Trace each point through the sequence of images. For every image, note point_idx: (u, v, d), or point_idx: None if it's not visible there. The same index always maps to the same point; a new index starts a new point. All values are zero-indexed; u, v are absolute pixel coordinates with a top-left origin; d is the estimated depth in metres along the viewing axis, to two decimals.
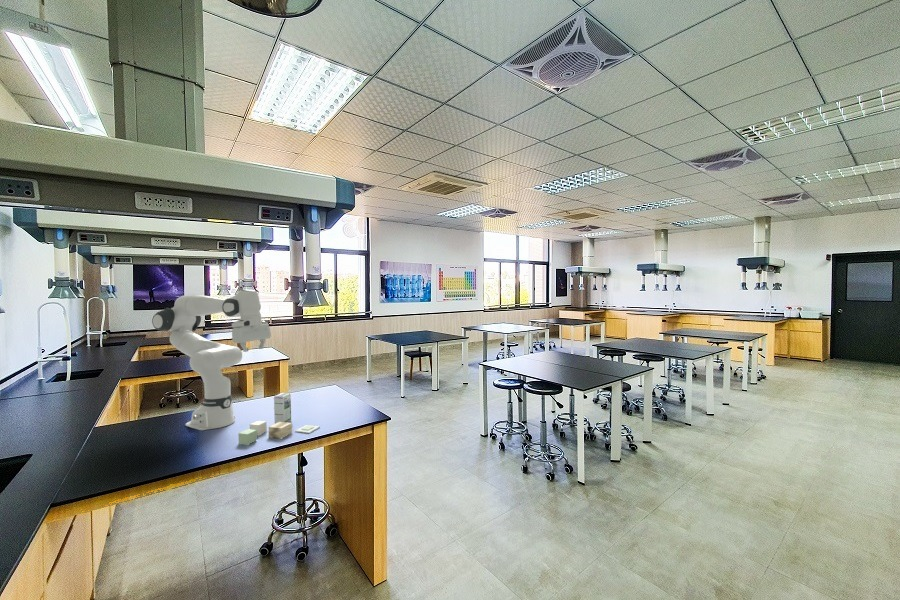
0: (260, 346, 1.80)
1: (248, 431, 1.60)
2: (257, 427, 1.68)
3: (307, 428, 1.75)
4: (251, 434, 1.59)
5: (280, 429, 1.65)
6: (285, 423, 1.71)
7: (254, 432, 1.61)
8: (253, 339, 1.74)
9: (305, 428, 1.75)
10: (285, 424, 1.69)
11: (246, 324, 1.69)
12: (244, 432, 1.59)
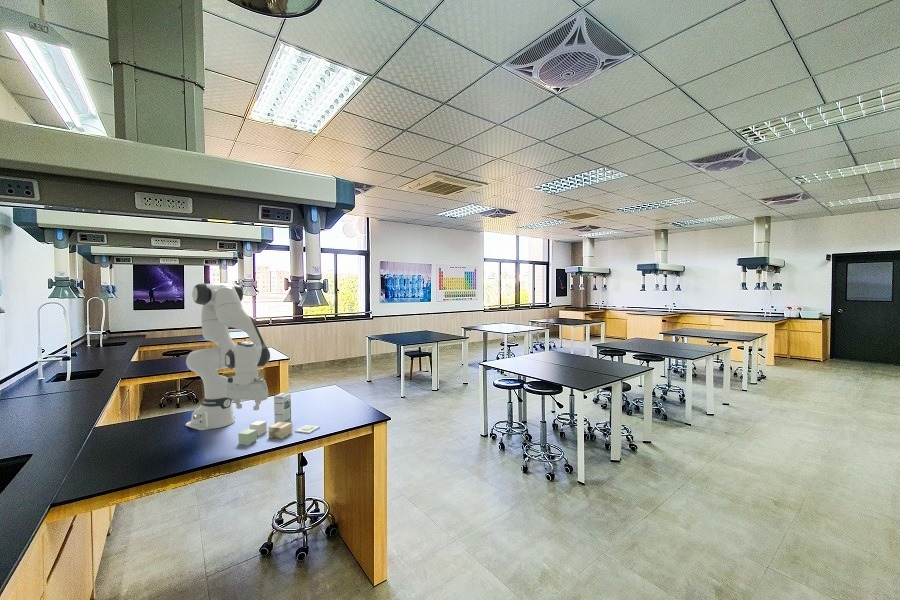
0: None
1: (248, 431, 1.60)
2: (257, 427, 1.68)
3: (307, 428, 1.75)
4: (251, 434, 1.59)
5: (281, 429, 1.65)
6: (285, 423, 1.71)
7: (254, 432, 1.61)
8: (241, 398, 1.59)
9: (305, 428, 1.75)
10: (285, 424, 1.69)
11: (229, 381, 1.59)
12: (244, 432, 1.59)
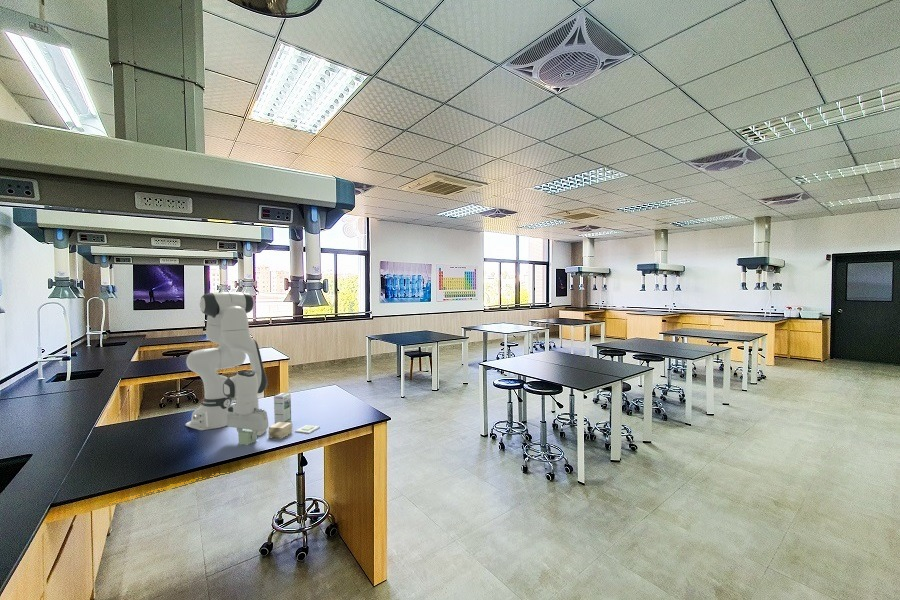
0: None
1: (248, 431, 1.60)
2: None
3: (307, 428, 1.75)
4: (251, 434, 1.59)
5: (281, 429, 1.65)
6: (285, 423, 1.71)
7: None
8: (241, 427, 1.59)
9: (305, 428, 1.75)
10: (285, 424, 1.69)
11: (230, 410, 1.59)
12: (244, 432, 1.59)
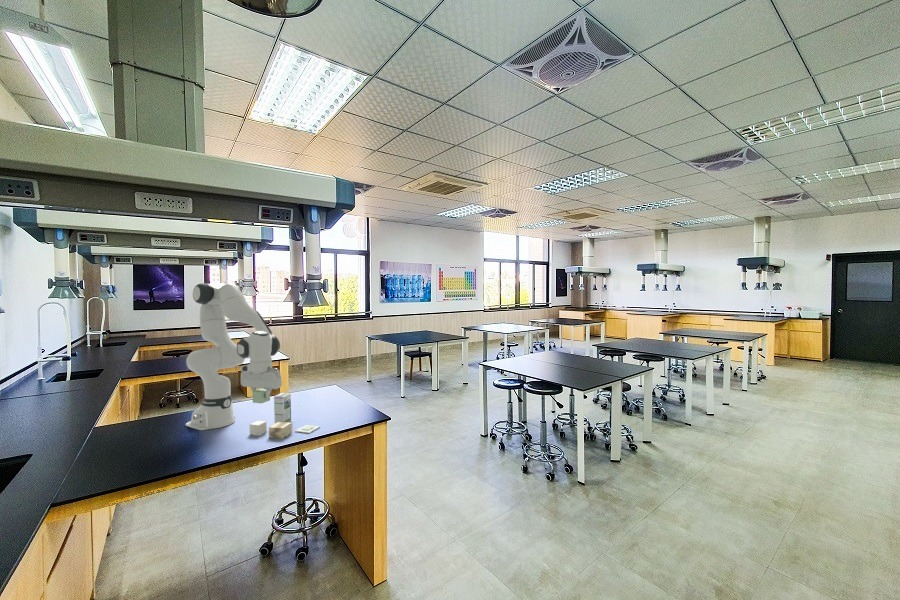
0: None
1: (262, 390, 1.63)
2: (257, 427, 1.68)
3: (307, 428, 1.75)
4: (265, 393, 1.62)
5: (282, 429, 1.65)
6: (285, 423, 1.71)
7: None
8: (255, 386, 1.62)
9: (305, 428, 1.75)
10: (286, 424, 1.69)
11: (244, 369, 1.62)
12: (258, 391, 1.62)
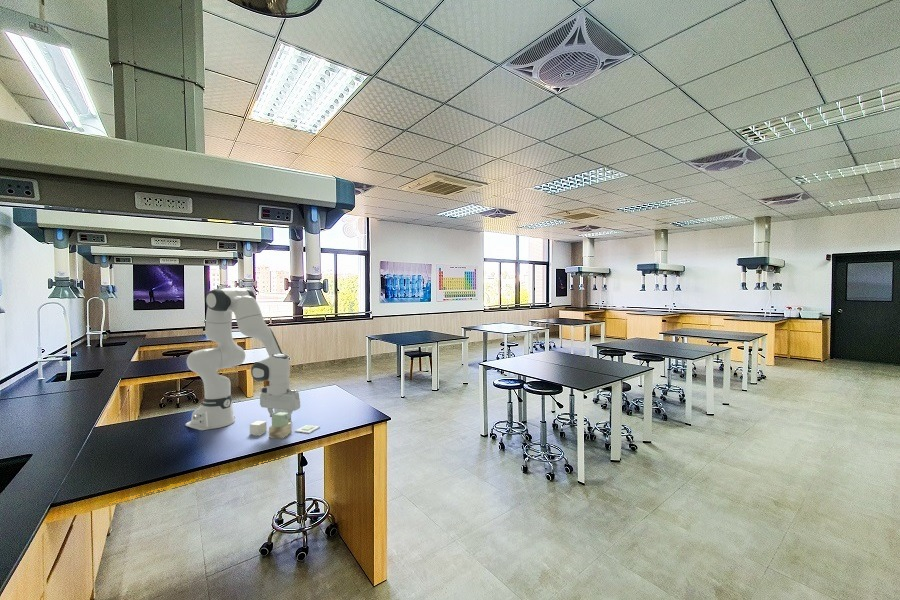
0: None
1: (281, 414, 1.69)
2: (257, 427, 1.68)
3: (307, 428, 1.75)
4: (284, 416, 1.68)
5: (283, 429, 1.65)
6: None
7: None
8: (274, 407, 1.67)
9: (305, 428, 1.75)
10: (286, 424, 1.70)
11: (264, 391, 1.67)
12: (277, 415, 1.67)
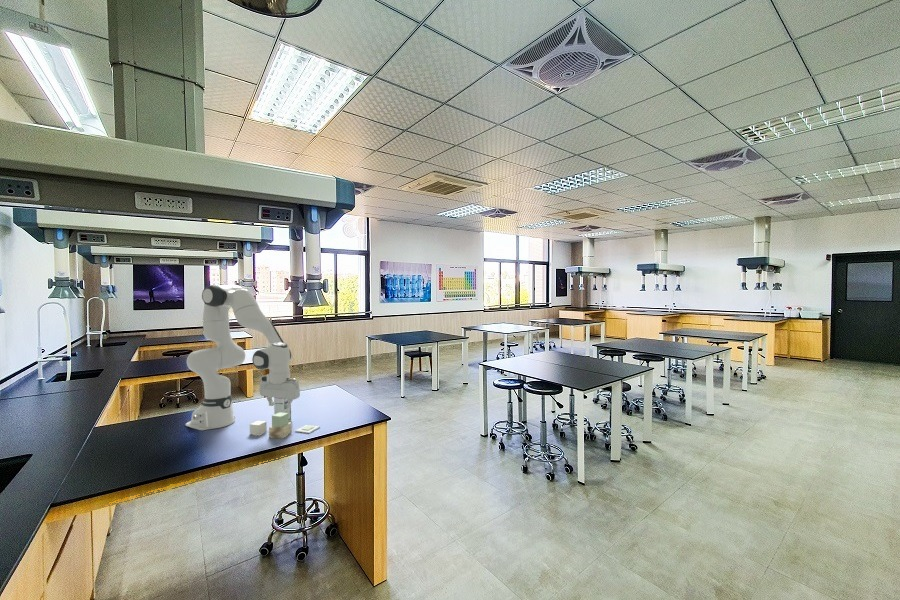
0: None
1: (281, 414, 1.68)
2: (257, 427, 1.68)
3: (307, 428, 1.75)
4: (284, 417, 1.67)
5: (283, 429, 1.65)
6: None
7: (286, 415, 1.69)
8: (274, 396, 1.67)
9: (305, 428, 1.75)
10: None
11: (263, 380, 1.67)
12: (277, 415, 1.67)
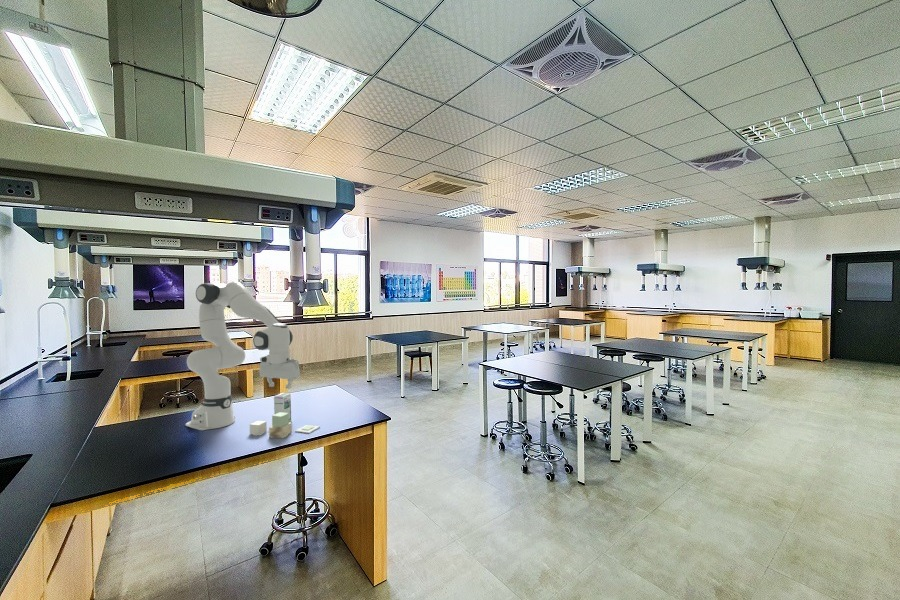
0: None
1: (281, 414, 1.69)
2: (257, 427, 1.68)
3: (307, 428, 1.75)
4: (284, 417, 1.68)
5: (283, 429, 1.65)
6: None
7: (286, 415, 1.69)
8: (274, 376, 1.67)
9: (305, 428, 1.75)
10: None
11: (263, 360, 1.67)
12: (278, 415, 1.67)
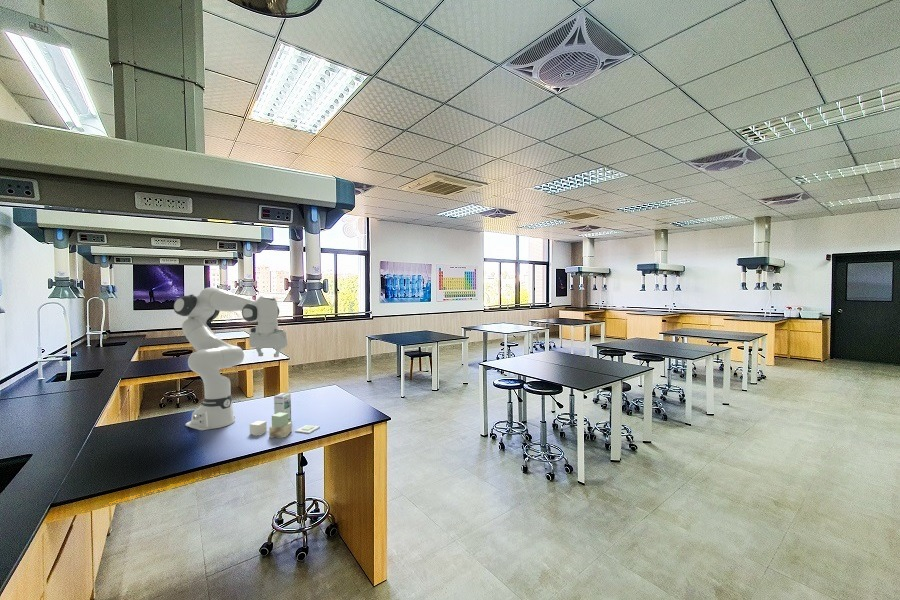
0: None
1: (281, 414, 1.69)
2: (257, 427, 1.68)
3: (307, 428, 1.75)
4: (283, 417, 1.68)
5: (283, 429, 1.66)
6: None
7: (286, 415, 1.69)
8: (263, 346, 1.77)
9: (305, 428, 1.75)
10: None
11: (252, 331, 1.77)
12: (277, 415, 1.67)
